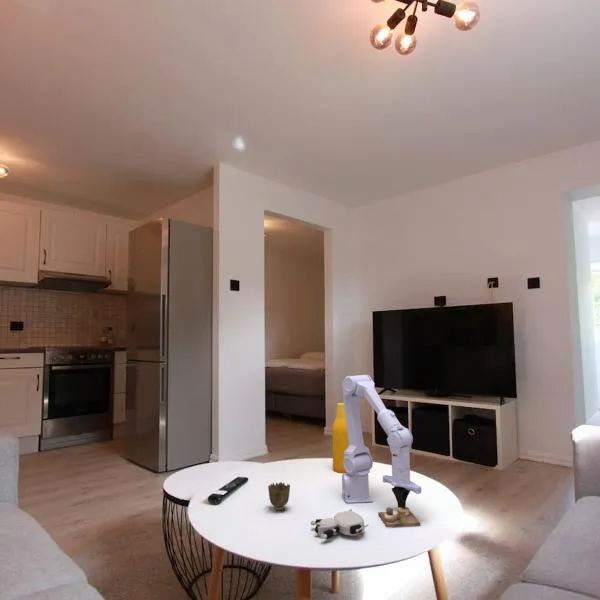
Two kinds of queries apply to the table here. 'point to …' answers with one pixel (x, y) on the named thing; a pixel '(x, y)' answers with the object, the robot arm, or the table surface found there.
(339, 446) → the beer bottle
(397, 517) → the link
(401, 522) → the board
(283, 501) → the cup
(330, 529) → the robot toy
